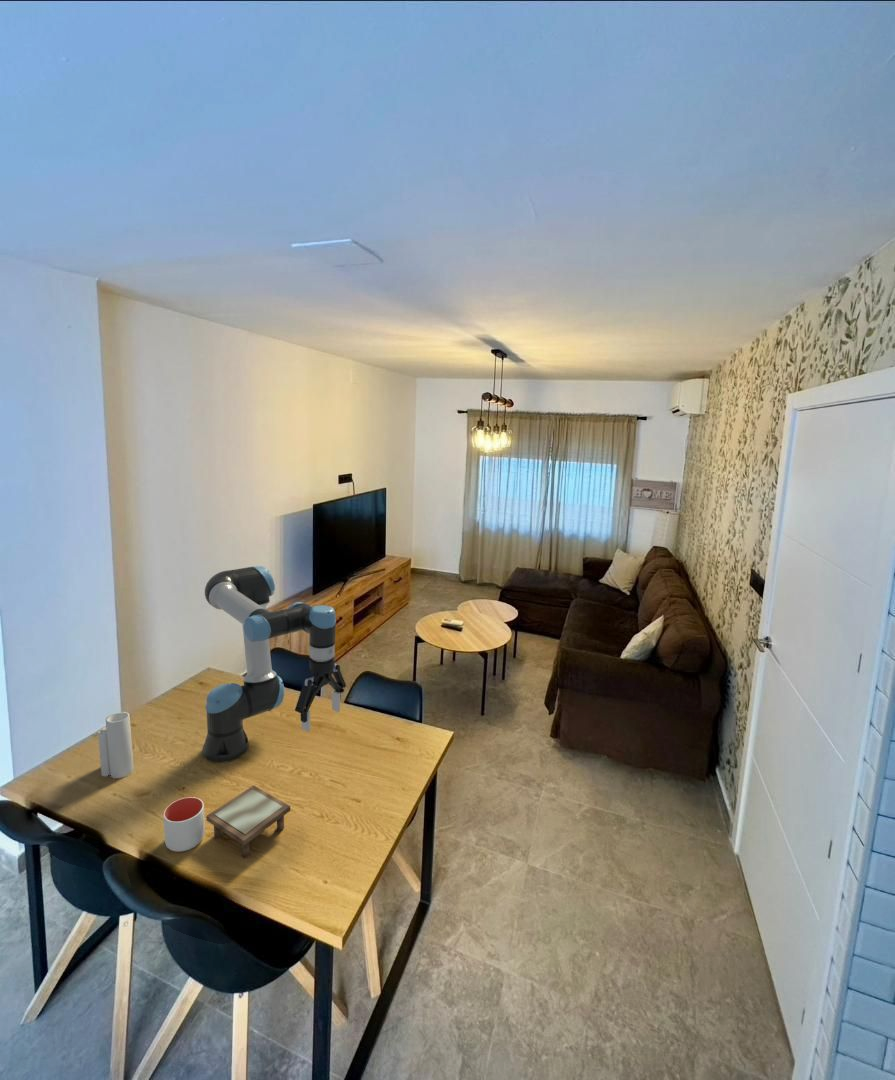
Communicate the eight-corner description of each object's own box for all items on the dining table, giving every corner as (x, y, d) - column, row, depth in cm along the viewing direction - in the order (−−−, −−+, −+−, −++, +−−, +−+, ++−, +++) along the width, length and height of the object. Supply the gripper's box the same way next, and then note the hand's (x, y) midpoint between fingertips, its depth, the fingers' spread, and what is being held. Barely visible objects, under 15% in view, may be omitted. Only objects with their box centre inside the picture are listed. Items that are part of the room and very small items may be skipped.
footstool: (207, 837, 149) (206, 815, 148) (254, 805, 163) (253, 784, 161) (244, 863, 141) (243, 839, 140) (290, 827, 155) (290, 805, 153)
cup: (174, 827, 152) (172, 797, 150) (210, 826, 153) (209, 796, 151) (158, 854, 143) (156, 822, 141) (197, 854, 144) (195, 822, 141)
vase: (138, 768, 177) (134, 714, 173) (119, 781, 170) (114, 725, 166) (113, 760, 180) (108, 707, 176) (93, 772, 173) (88, 717, 169)
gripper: (301, 675, 147) (301, 743, 152) (357, 646, 169) (356, 706, 173) (282, 668, 151) (282, 734, 155) (339, 640, 172) (338, 699, 177)
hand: (321, 720), depth 164 cm, fingers open, 13 cm apart
